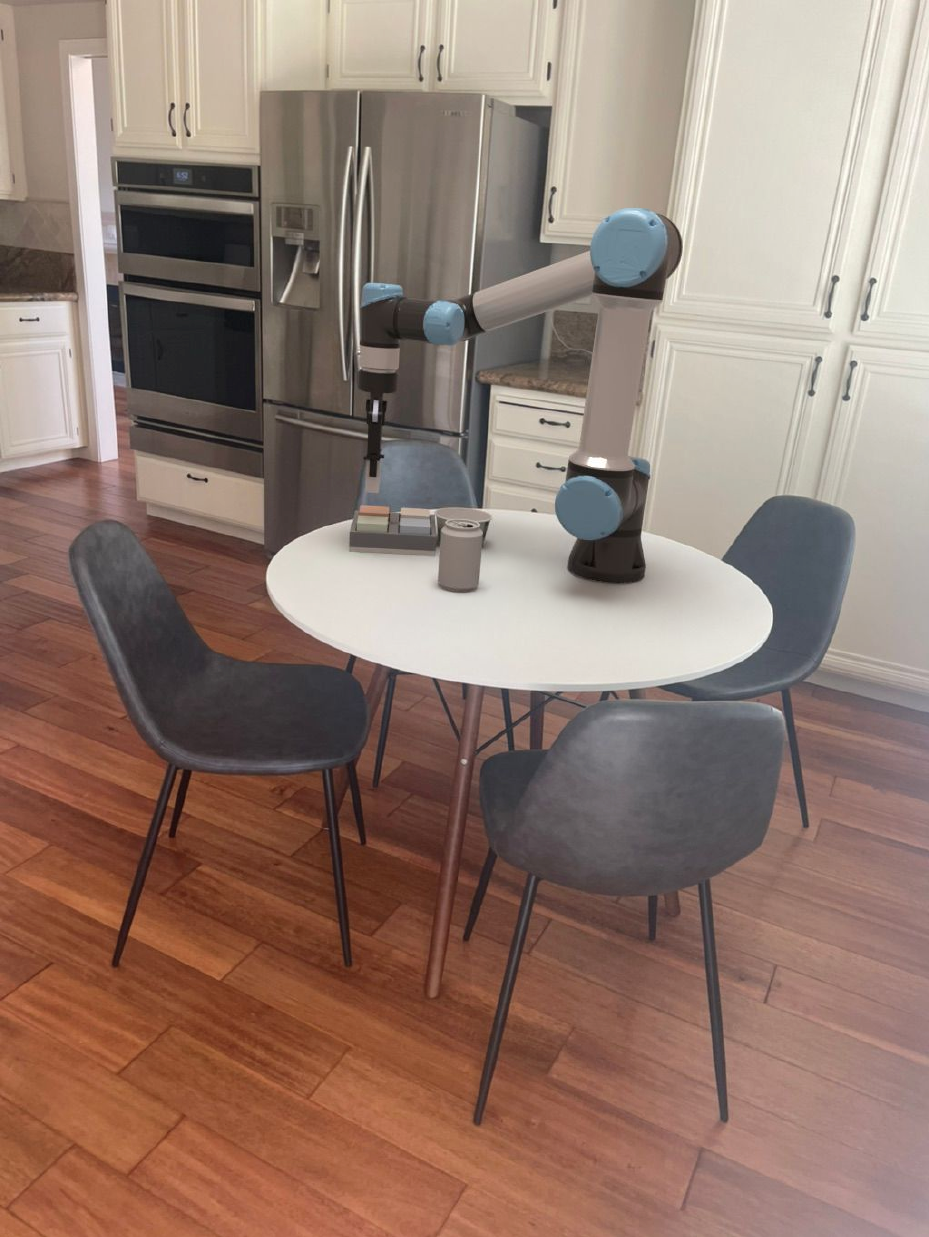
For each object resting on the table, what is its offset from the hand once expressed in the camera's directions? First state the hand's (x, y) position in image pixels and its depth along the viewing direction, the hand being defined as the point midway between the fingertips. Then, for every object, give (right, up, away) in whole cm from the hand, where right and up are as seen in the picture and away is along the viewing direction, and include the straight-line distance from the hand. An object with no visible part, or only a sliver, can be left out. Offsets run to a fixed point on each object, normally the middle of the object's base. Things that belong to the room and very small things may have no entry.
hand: (372, 491), depth 186 cm
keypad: (+4, -9, +8) cm, 13 cm away
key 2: (-1, -5, +11) cm, 12 cm away
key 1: (0, -8, +3) cm, 8 cm away
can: (+17, -19, -16) cm, 30 cm away
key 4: (+8, -5, +11) cm, 15 cm away
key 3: (+8, -8, +3) cm, 12 cm away
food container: (+17, -10, +10) cm, 22 cm away
